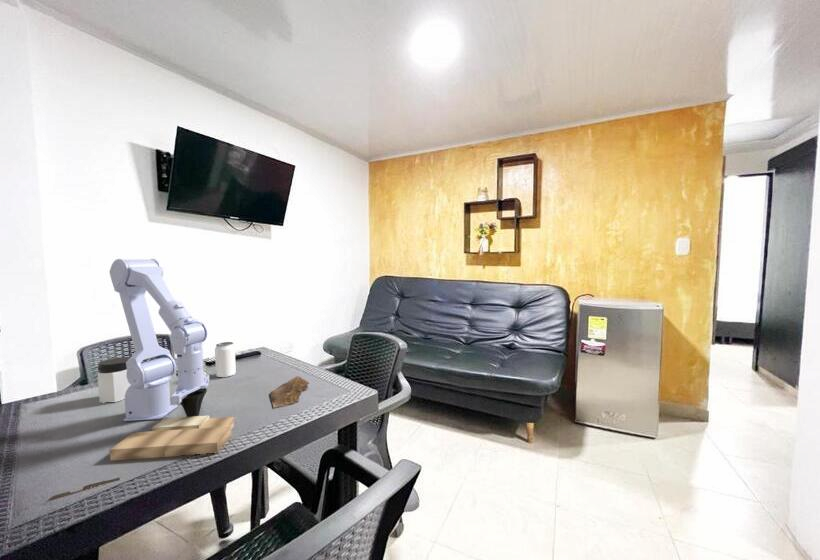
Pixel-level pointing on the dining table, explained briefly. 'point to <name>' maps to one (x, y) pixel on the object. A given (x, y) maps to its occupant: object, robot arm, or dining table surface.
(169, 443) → the angled wooden block
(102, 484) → the wooden stick
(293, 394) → the wooden fragment
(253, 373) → the dining table surface
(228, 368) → the can
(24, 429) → the dining table surface
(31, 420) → the dining table surface
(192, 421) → the plank
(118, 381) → the jar
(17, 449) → the dining table surface
